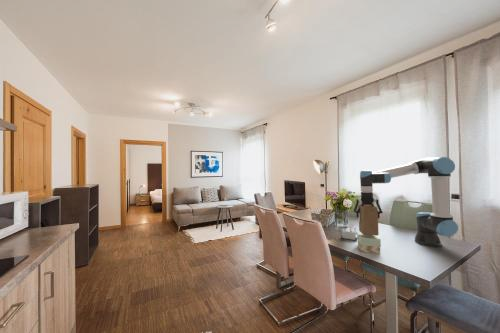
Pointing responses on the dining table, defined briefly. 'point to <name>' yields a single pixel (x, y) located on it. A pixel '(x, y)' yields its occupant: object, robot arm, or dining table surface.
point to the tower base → (369, 248)
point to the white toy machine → (349, 234)
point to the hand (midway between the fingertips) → (368, 222)
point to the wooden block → (368, 220)
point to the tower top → (369, 240)
